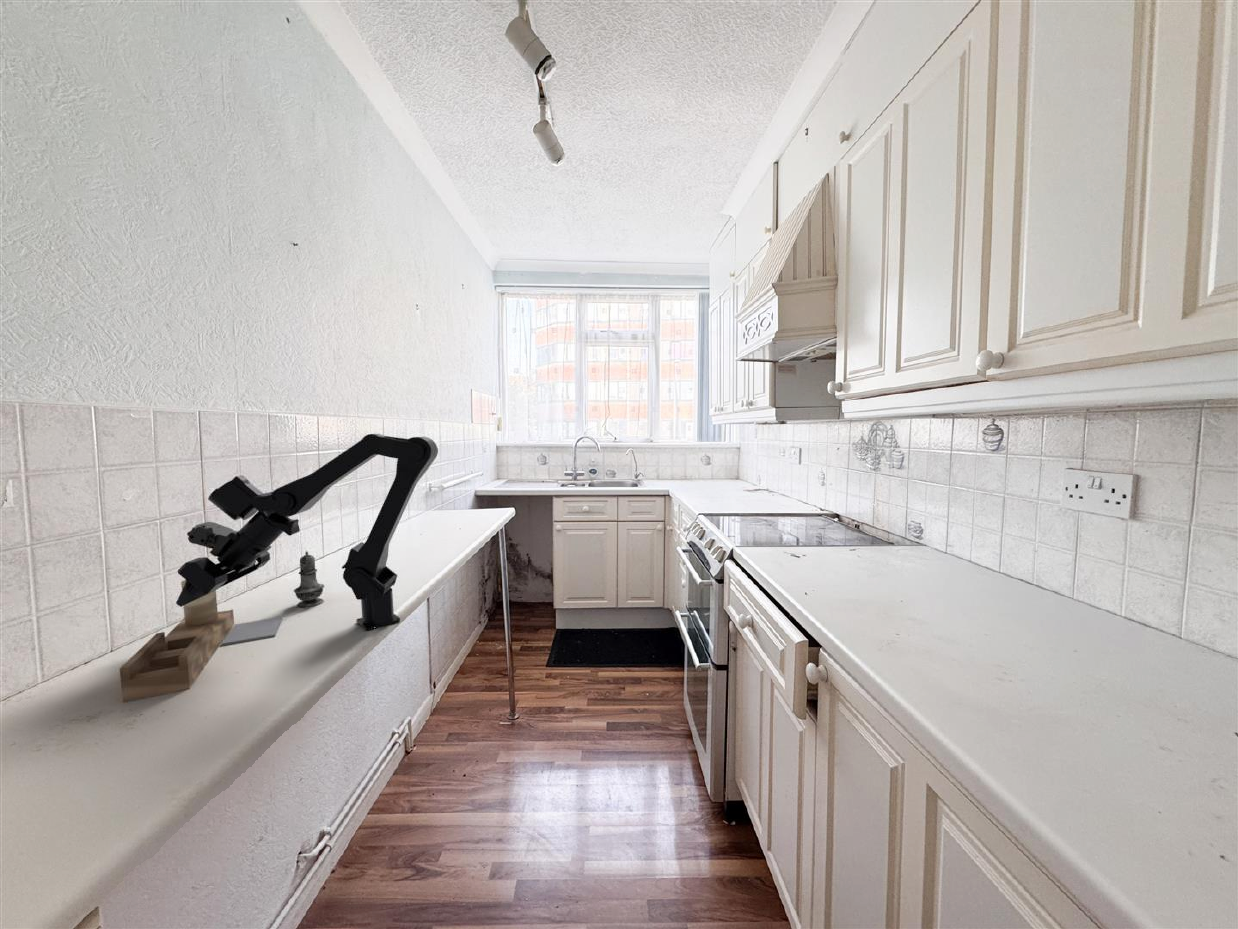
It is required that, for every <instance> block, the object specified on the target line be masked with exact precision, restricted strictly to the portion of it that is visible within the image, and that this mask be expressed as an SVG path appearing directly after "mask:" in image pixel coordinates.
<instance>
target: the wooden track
mask: <svg viewBox="0 0 1238 929" xmlns="http://www.w3.org/2000/svg"><path fill="white" fill-rule="evenodd" d="M234 625H235V617H234V609H230V610H223V611H218V618H217V619H216V620H214V621H211V622H208V623H205V624H200V625H193V626H188V625H185V618H184V617H183V618H182V620H180V622H179V623H177V624H176V626H174V627H173V628H172V629H171V631H169V633H167V635H166V634H165V631H163V632H156V633H155V634H154V635H153V636H152V637H151V638H150V639H149V640H148V641H147V642H145V644H144V645H143V646H142V647H141V648H140V649H138V651H137V652H135V654H134V655H132V656H131V657H130V658H129V659H128V660H127V661H126V662H125V663H124V664H123V665H122V666H121V667H120V668H119V676H120V685H121V695H122V696H121V697H122V703H127V702H130V701H136V700H142V699H145V698H150V697H151V698H152V697H155V696H161V695H165V694H170V693H174V692H175V693H176V692H179V691H185V690H190V689H191V687H192V686H193V685H194V683H195V682H196V680H197V679H198V678H199V676H200V674H201V673H202V672H203V671H204V669H205V667H206V666H207V665H208V663H209V661H210V660H212V657H213V656H214V655H215V653H216V652H217V651H218V648H219V647H220V646H221V645H222V642H223V641H224V640H225V638H226V637H227V635H228V634H229V632H230V631H231V629H232V628H233V626H234ZM160 694H161V695H160Z"/></svg>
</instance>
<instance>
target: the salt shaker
mask: <svg viewBox="0 0 1238 929" xmlns="http://www.w3.org/2000/svg"><path fill="white" fill-rule="evenodd" d="M315 560H316V559H315V556H314V555H311V554H309V552H308V551H306V550H305V555H303V556H300V558H299V568H300V569H299V572H298V574H299V575H300V576H299V577H300V585H299V586H298V587H296V588H294V589H293V593H294V594H295V597H296V598H297V599H298V600H300V601H299V602H298V603H296V608H298V607H299V608H298V609H305V608H306V607H307V608H312V607H316V606H319V605H321V603H322V604H323V603H324V602H325V600H324V599H323V598H320V596H321V595H322V594H323V591H324V588H325V584H322V583H319V582H318V579H317V572H318V569H317V568H316V561H315Z"/></svg>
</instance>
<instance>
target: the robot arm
mask: <svg viewBox="0 0 1238 929" xmlns="http://www.w3.org/2000/svg"><path fill="white" fill-rule="evenodd" d="M438 453H439V448H438V446H437V443H436V442H435V441H434V440H433V439H431V438H430V437H428V436H412V437H410V438H403V437H397V436H396V437H395V436H388V435H383V434H381V433H370V434H369V433H368V434H366V435H364V436H362V438H361V439H360V440H359V441H358V442H356V443H355V444H352V446H350V447H349V448H347V449H346V450H344V451H343V452H341V453H340V454H338V455H337V456H336V457H334V458H333V459H331V460H330V461H329V462H326V463H325V464H324V465H322V466H321V467H319V468H318V469H316V470H315V471H314V472H312V473H310V474H308V475H306V476H303V477H300V478H298V479H296V480H293V481H291V482H289V483H285V484H284V485H282V486H280V487H277V488H276V489H274V490H273V491H269V492H265V493H264V492H262V491H261V490H260V489H258V488H257V487H256V486H254V485H253V484H252V483H251V482H250V481H249V479H248V478H246V476H244V475H237V476H234V477H233V479H231V480H230V481H228V482H225V483H224V484H223V485H221V486H219V487H218V488H215V489H214V490H213V491H212V492H211V493H210V494H209V496H208V498H207V499H208V501H209V502H210V503H212V504H213V505H214V506H216V508H218V509H219V510H220V511H222V512H223V513H224V514H225V515H227V517H228V516H229V518H230V519H232V520H233V521H238V520H240V519H241V520H243V521H246V520H248V519H249V518H250V519H249V520H248V521H247V523H245V524H244V525H243V526H242V527H241V528H240V529H239V530H234V528H230V527H227V526H224V525H222V524H220V523H216V522H214V521H206V522H203V523H199V524H196V525H195V526H193V527H192V529H191V530H190V531H188V532H186V536H187V537H188V538H187V540H188V542H189V543H191V544H193V545H198V546H202V547H205V548H208V549H210V551H209V554H211V555H212V556H213V557H214V558H215V557H217V558H216V559H217V561H218V562H217V563H215V562H214V561H212V560H211V559H210V558H208V557H207V556H205V557H197V558H194V559H191V560H189V561H187V562H184V564H182V565H181V566H180V568H178V570H177V574H178V575H180V577H182V578H183V579H184V580H186V582H185V585H184V587H183V590H182V589H181V592H180V594H179V596H178V598H177V600H176V602H175V604H176V605H177V606H178V607H181V608H182V607H183V606H184V605H186V604H188V603H190V602H192V601H194V600H196V599H199V598H201V597H203V596H205V595H207V594H209V593H211V592H213V591H215V590H216V591H217V590H219V589H220V588H222V587H224V586H226V585H228V584H231V583H232V582H234V581H237V580H239V579H241V578H242V577H245V576H247V575H249V574H252V573H253V572H254V571H255V572H256V571H257V570H259V568H262V567H264V566H265V565H266V564H267V563H269V561H270V560H271V554H270V552H269V550H270V549H271V548H272V546H271V545H272V544H273V543H274V542H275V541H276V540H277V539H278V538H279V537H280V536H281V535H282V534H283V533H285V534H286V535H287V536H293V535H296V534H297V533H300V531H301V529H300V525H299V522H300V521H299V519H297V518H296V519H292V518H290V517H292V516H294V515H295V516H296V515H298V514H301V513H304V512H306V511H308V510H311V509H312V508H313V507H314V506H315V505H316V504H317V503H318V502H319V501H320V500H321V499H322V498H323V497H324V496H325V494H326V493H327V492H328V491H329V490H330V488H331V487H333V486H335V485H336V484H337V483H338V482H340V481H342V480H343V479H344V478H346V477H347V476H349V475H350V474H352V473H353V472H355V471H356V470H358V469H359V468H361V467H362V466H363V465H365V464H367V463H368V462H369V461H371V460H372V459H373V458H375V457H376V456H383V457H387V458H392V459H397V460H396V468H395V477H394V479H393V482H392V484H391V486H390V488H389V491H388V493H387V494H386V497H385V500H384V502H383V503H382V506H381V508H380V510H379V512H378V515H377V517H376V518H375V521H374V523H373V525H372V528H371V530H370V532H369V534H368V536H367V539H366V540H365V542H360V543H358V544H356V545H355V546H353V547H352V548H350V549H349V553H348V555H347V560H346V561H345V562H344V564H343V565H342V567H341V569H344V570H343V573H342V579H343V580H344V582H345V584H346V586H348V588H350V589H351V591H352V592H353V594H354V596H355V599H356V600H360V602H361V603H360V607H361V617H360V618H357V619H355V621H356V623H357V624H358V625H359V626H360V627H361V628H363V629H364V630H365V631H368V630H367V629H370V630H372V629H371V628H373V629H375V628H374V627H377V628H379V627H383V626H387V625H390V624H395V623H397V622H400V621H401V617H399V616H398V615H397V614H395V612H394V596H393V595H394V594H393V588H392V587H393V586H395V584H396V582H397V578H398V574H397V573H395V572H394V570H392V569H390V568H389V567H388V566H387V561H388V556H389V547H390V546H389V545H390V543H391V540H392V538H393V536H394V534H395V532H396V529H397V528H398V525H399V523H400V521H401V519H402V516H403V515H404V513H405V510H406V509H407V506H408V503H409V501H410V499H411V497H412V495H413V492H414V491H415V488H416V487H417V483H418V482H419V481H420V480H421V479H422V477H423V476H424V475H425V473H426V472H427V471H428V470H429V469H430V467H431V465H432V464H433V462H434V461H435V460H436V458H437V456H438Z"/></svg>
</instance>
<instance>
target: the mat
mask: <svg viewBox="0 0 1238 929" xmlns="http://www.w3.org/2000/svg"><path fill="white" fill-rule="evenodd" d="M283 620H284V616H278V617H274V618H273V617H272V618H266V619H261V620H254V621H248V622H241V623H236V624H235V623H234V625H233V627H232V628H231V630H230V631H229V633H228V634H227V635H226V637H225V638H224V640H223V641H222V643H221V646H228V645H234V644H239V643H240V644H241V643H245V642H251V641H257V640H261V639H267V638H273V637H276V635H277V633H278V630H279V628H280V626H281V624H282V622H283Z"/></svg>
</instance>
